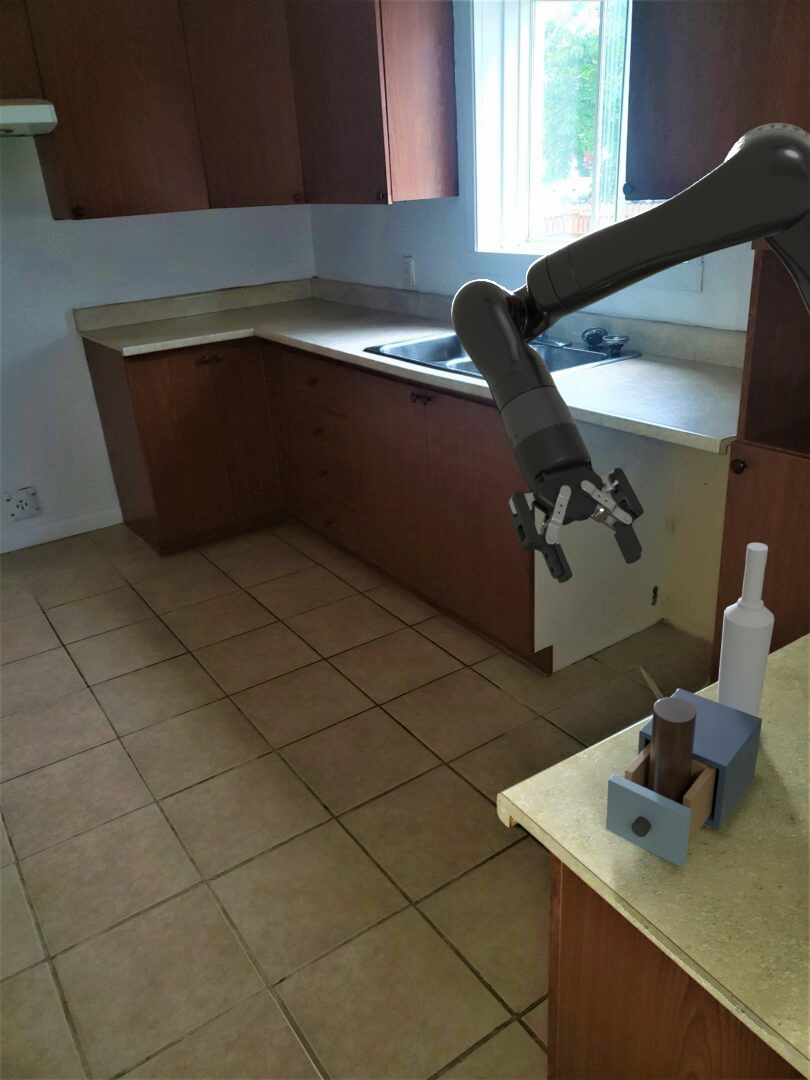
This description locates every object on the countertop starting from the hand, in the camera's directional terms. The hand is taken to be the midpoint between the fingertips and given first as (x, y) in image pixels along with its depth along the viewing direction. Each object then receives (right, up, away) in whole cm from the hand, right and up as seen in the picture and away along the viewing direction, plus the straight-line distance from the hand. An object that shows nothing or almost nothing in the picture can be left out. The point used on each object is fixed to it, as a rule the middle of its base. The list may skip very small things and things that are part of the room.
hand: (601, 570), depth 86 cm
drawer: (+6, -26, -2) cm, 27 cm away
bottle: (+19, -20, +12) cm, 30 cm away
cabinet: (+11, -24, +4) cm, 27 cm away
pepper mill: (+7, -25, -1) cm, 26 cm away
